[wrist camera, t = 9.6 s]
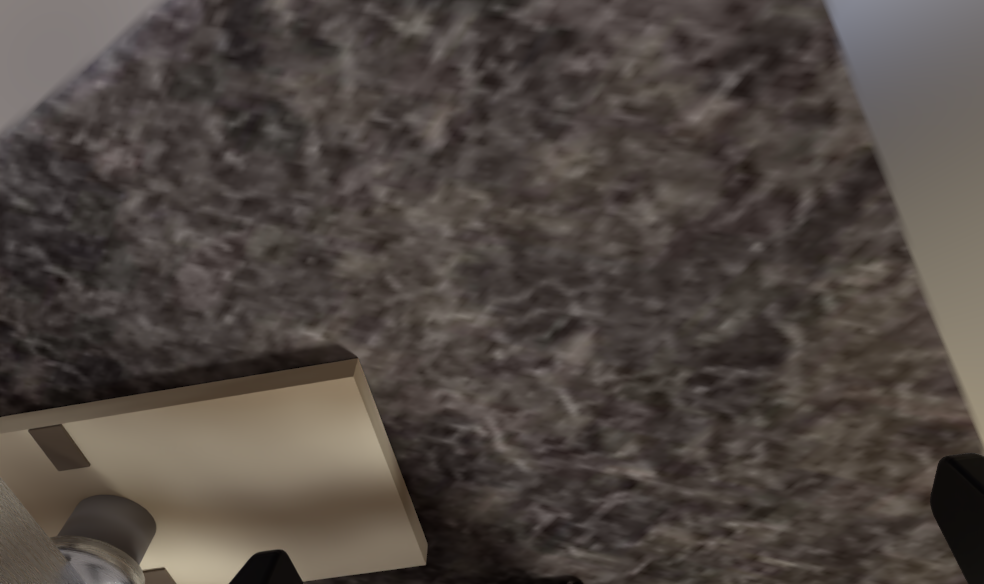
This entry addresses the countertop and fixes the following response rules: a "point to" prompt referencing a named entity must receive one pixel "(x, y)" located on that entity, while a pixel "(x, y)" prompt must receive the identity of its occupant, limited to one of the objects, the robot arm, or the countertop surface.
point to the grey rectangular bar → (56, 553)
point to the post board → (223, 476)
